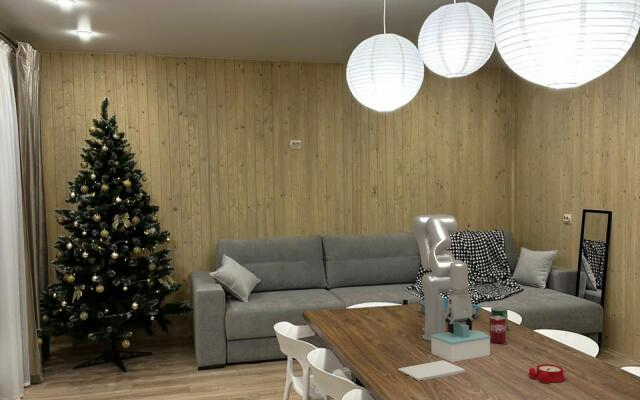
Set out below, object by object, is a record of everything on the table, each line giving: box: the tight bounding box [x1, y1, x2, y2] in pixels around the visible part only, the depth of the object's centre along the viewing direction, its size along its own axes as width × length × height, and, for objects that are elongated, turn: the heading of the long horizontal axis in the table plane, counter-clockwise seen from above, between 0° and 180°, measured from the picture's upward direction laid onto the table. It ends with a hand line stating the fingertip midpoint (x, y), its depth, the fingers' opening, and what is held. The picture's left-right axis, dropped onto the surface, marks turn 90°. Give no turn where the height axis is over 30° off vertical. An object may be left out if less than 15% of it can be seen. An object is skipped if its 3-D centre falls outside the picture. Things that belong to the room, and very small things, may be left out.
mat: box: [397, 359, 466, 382], centre depth 227 cm, size 14×22×1 cm, turn 115°
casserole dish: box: [420, 298, 480, 322], centre depth 322 cm, size 37×22×7 cm, turn 27°
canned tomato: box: [490, 306, 509, 333], centre depth 287 cm, size 8×8×11 cm
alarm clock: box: [527, 363, 570, 384], centre depth 215 cm, size 10×6×15 cm
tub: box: [430, 337, 491, 363], centre depth 246 cm, size 20×14×8 cm
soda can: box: [489, 316, 508, 346], centre depth 264 cm, size 7×7×12 cm
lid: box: [430, 321, 490, 345], centre depth 247 cm, size 22×14×7 cm, turn 115°
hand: (460, 331), depth 246 cm, fingers open, 9 cm apart
